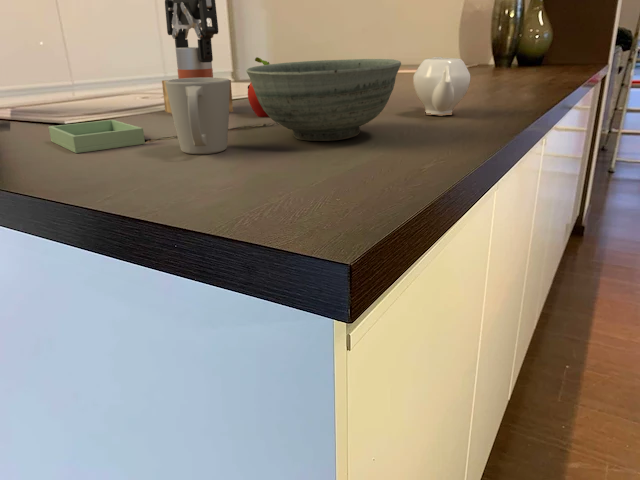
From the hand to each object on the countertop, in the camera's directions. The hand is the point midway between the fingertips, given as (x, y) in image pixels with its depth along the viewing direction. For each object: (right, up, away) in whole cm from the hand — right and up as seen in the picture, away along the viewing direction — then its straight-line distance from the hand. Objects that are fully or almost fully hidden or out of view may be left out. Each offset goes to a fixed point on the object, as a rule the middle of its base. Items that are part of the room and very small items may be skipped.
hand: (194, 61), depth 95 cm
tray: (-8, -18, -21) cm, 29 cm away
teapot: (+43, -10, -1) cm, 44 cm away
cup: (+8, -21, -28) cm, 36 cm away
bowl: (+23, -17, -19) cm, 34 cm away
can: (0, -8, +3) cm, 9 cm away
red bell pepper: (+13, -11, -2) cm, 17 cm away
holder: (0, -9, +3) cm, 9 cm away
